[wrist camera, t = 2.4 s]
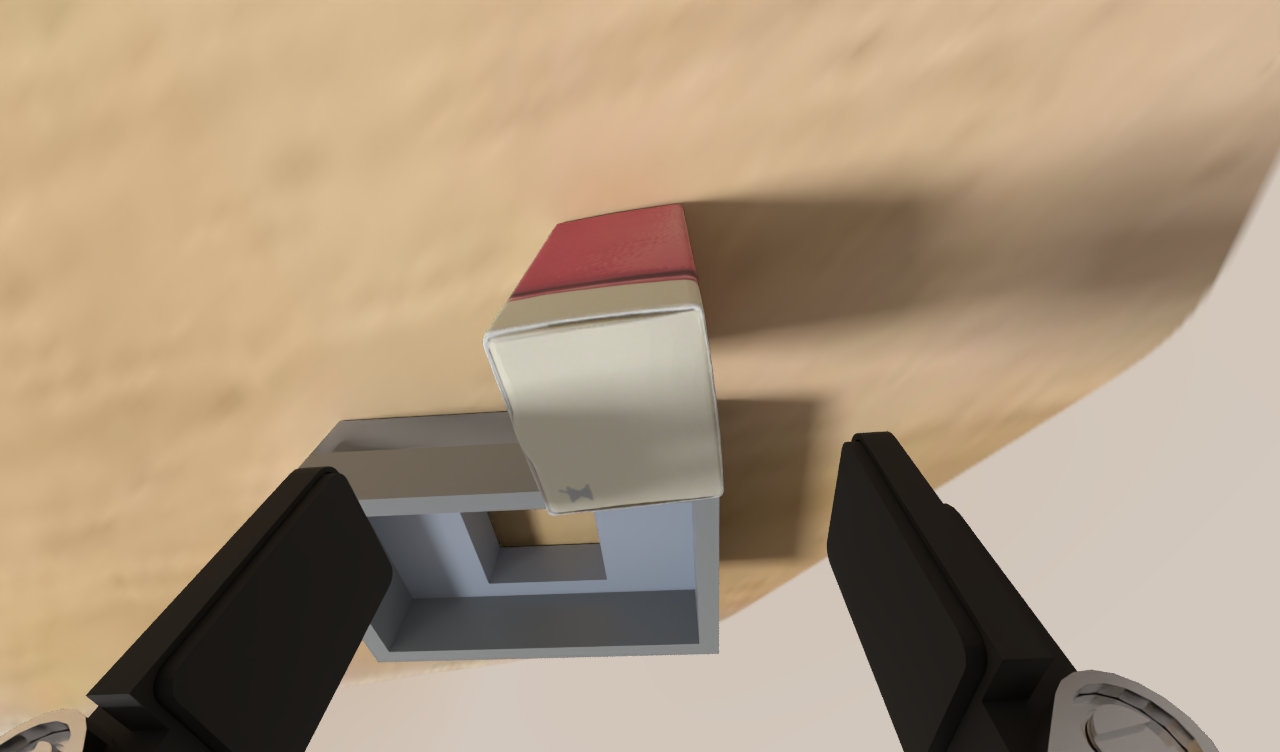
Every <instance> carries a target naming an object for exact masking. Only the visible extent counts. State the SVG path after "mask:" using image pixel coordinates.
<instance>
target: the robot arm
mask: <svg viewBox="0 0 1280 752" xmlns="http://www.w3.org/2000/svg"><path fill="white" fill-rule="evenodd" d="M827 553H828V558H829V562H830V565H831V567H832V570H833V572H834V575H835V578H836V580H837V582H838V585H839V587H840V590H841V593H842V595H843V598H844V600H845V603H846V605H847V608H848V611H849V613H850V616H851V618H852V621H853V623H854V626H855V628H856V631H857V634H858V636H859V639H860V641H861V644H862V646H863V648H864V651H865V654H866V656H867V659H868V661H869V664H870V666H871V669H872V672H873V674H874V677H875V679H876V682H877V684H878V687H879V690H880V692H881V695H882V697H883V699H884V702H885V705H886V707H887V710H888V712H889V715H890V718H891V720H892V723H893V725H894V727H895V730H896V733H897V735H898V738H899V740H900V743H901V745H902V748H903V751H904V752H1219V751H1218V749H1217V748H1216V746H1215V745H1214V743H1213V742H1212V740H1211V739H1210V738H1209V737H1208V736H1207V735H1206V734H1205V733H1204V732H1203V731H1202V730H1201V729H1200V728H1199V727H1198V726H1197V724H1196V723H1195V722H1194V721H1193V720H1191V718H1190V717H1188V716H1187V715H1186V714H1185V713H1183V712H1182V711H1181V710H1180V709H1178V708H1177V707H1176V706H1174V705H1173V704H1172V703H1171V702H1169V701H1168V700H1167V699H1165V698H1164V697H1162V696H1160V695H1159V694H1157V693H1155V692H1153V691H1152V690H1150V689H1148V688H1146V687H1145V686H1143V685H1141V684H1139V683H1137V682H1135V681H1132V680H1129V679H1127V678H1124V677H1121V676H1119V675H1116V674H1114V673H1107V672H1102V671H1095V670H1086V671H1078V672H1077V671H1076V669H1075V668H1074V666H1073V665H1072V664H1071V662H1070V661H1069V660H1068V658H1067V657H1066V656H1065V655H1064V653H1063V652H1062V650H1061V649H1060V648H1059V646H1058V645H1057V644H1056V642H1055V641H1054V640H1053V638H1052V637H1051V636H1050V634H1049V633H1048V632H1047V630H1046V629H1045V628H1044V626H1043V625H1042V624H1041V622H1040V621H1039V620H1038V618H1037V617H1036V616H1035V614H1034V613H1033V611H1032V610H1031V609H1030V608H1029V606H1028V605H1027V603H1026V602H1025V601H1024V599H1023V598H1022V597H1021V595H1020V594H1019V593H1018V591H1017V590H1016V589H1015V587H1014V586H1013V585H1012V583H1011V582H1010V581H1009V579H1008V578H1007V577H1006V575H1005V574H1004V573H1003V571H1002V570H1001V568H1000V567H999V566H998V564H997V563H996V562H995V560H994V559H993V558H992V556H991V555H990V554H989V552H988V551H987V550H986V549H985V547H984V546H983V544H982V543H981V542H980V540H979V539H978V538H977V536H976V535H975V534H974V532H973V531H972V530H971V528H970V527H969V526H968V524H967V523H966V522H965V520H964V519H963V517H962V516H961V515H960V514H959V513H958V512H957V511H956V510H955V508H954V507H952V506H950V505H948V504H943V503H942V501H941V500H940V499H939V497H938V496H937V494H936V493H935V492H934V490H933V489H932V487H931V486H930V485H929V483H928V482H927V481H926V479H925V478H924V476H923V475H922V474H921V472H920V471H919V470H918V468H917V467H916V465H915V464H914V463H913V461H912V460H911V458H910V457H909V456H908V454H907V453H906V452H905V450H904V449H903V447H902V446H901V445H900V443H899V442H898V440H897V439H896V438H895V436H894V435H893V434H892V433H890V432H888V431H887V432H870V433H857V434H855V435H854V436H853V438H852V441H851V442H845V443H844V444H843V447H842V451H841V458H840V464H839V470H838V476H837V483H836V489H835V495H834V502H833V508H832V514H831V520H830V527H829V533H828V539H827ZM392 576H393V570H392V565H391V563H390V561H389V559H388V557H387V555H386V553H385V551H384V549H383V548H382V546H381V544H380V542H379V540H378V538H377V536H376V534H375V532H374V530H373V528H372V526H371V524H370V522H369V520H368V518H367V517H366V515H365V513H364V511H363V509H362V507H361V505H360V503H359V501H358V499H357V497H356V495H355V493H354V491H353V489H352V487H351V486H350V484H349V482H348V480H347V478H346V477H345V475H343V474H341V473H339V472H338V471H337V470H336V469H335V468H333V467H330V466H323V467H307V468H299V469H296V470H294V471H293V472H292V473H290V475H289V476H288V477H287V478H286V479H285V480H284V481H283V482H282V483H281V484H280V485H279V486H278V488H277V489H276V490H275V491H274V492H273V493H272V494H271V495H270V496H269V497H268V498H267V499H266V501H265V502H264V503H263V504H262V505H261V506H260V507H259V508H258V509H257V510H256V511H255V512H254V514H253V515H252V516H251V517H250V518H249V519H248V520H247V521H246V522H245V523H244V524H243V525H242V527H241V528H240V529H239V530H238V531H237V532H236V533H235V534H234V535H233V536H232V537H231V539H230V540H229V541H228V542H227V543H226V544H225V545H224V546H223V547H222V548H221V549H220V550H219V552H218V553H217V554H216V555H215V556H214V557H213V558H212V559H211V560H210V561H209V562H208V563H207V565H206V566H205V567H204V568H203V569H202V570H201V571H200V572H199V573H198V574H197V575H196V576H195V578H194V579H193V580H192V581H191V582H190V583H189V584H188V585H187V586H186V587H185V588H184V589H183V591H182V592H181V593H180V594H179V595H178V596H177V597H176V598H175V599H174V600H173V601H172V603H171V604H170V605H169V606H168V607H167V608H166V609H165V610H164V611H163V612H162V613H161V614H160V616H159V617H158V618H157V619H156V620H155V621H154V622H153V623H152V624H151V625H150V626H149V627H148V629H147V630H146V631H145V632H144V633H143V634H142V635H141V636H140V637H139V638H138V639H137V640H136V642H135V643H134V644H133V645H132V646H131V647H130V648H129V649H128V650H127V651H126V652H125V653H124V655H123V656H122V657H121V658H120V659H119V660H118V661H117V662H116V663H115V664H114V665H113V667H112V668H111V669H110V670H109V671H108V672H107V673H106V674H105V675H104V676H103V677H102V678H101V680H100V681H99V682H98V683H97V684H96V685H95V686H94V687H93V688H92V689H91V690H90V691H89V693H88V694H87V695H86V696H87V697H88V698H89V699H91V700H92V701H93V702H94V703H96V704H97V705H98V707H97V709H96V710H95V711H94V712H93V713H92V714H91V715H90V716H89V718H87V717H86V716H85V715H84V714H82V713H81V712H80V711H78V710H73V709H60V710H56V711H52V712H48V713H44V714H42V715H40V716H38V717H35V718H33V719H31V720H29V721H26V722H24V723H22V724H20V725H18V726H17V727H15V728H13V729H12V730H10V731H8V732H7V733H5V734H4V735H2V736H0V752H305V750H306V748H307V746H308V744H309V742H310V740H311V738H312V736H313V734H314V732H315V730H316V729H317V726H318V725H319V722H320V721H321V719H322V717H323V715H324V713H325V711H326V709H327V707H328V705H329V703H330V701H331V699H332V697H333V695H334V693H335V691H336V690H337V688H338V686H339V684H340V682H341V680H342V678H343V676H344V674H345V672H346V670H347V668H348V666H349V664H350V662H351V660H352V658H353V656H354V654H355V653H356V651H357V649H358V647H359V645H360V643H361V641H362V639H363V637H364V635H365V633H366V631H367V629H368V627H369V625H370V623H371V621H372V619H373V617H374V615H375V614H376V612H377V610H378V608H379V606H380V604H381V602H382V600H383V598H384V596H385V594H386V592H387V590H388V588H389V586H390V584H391V581H392Z"/></svg>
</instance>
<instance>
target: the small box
mask: <svg viewBox="0 0 1280 752" xmlns="http://www.w3.org/2000/svg"><path fill="white" fill-rule="evenodd" d="M483 346H484V349H485V352H486V354H487V357H488V360H489V362H490V365H491V368H492V371H493V373H494V377H495V379H496V382H497V384H498V387H499V390H500V392H501V395H502V398H503V401H504V403H505V406H506V408H507V410H508V413H509V416H510V419H511V422H512V425H513V428H514V431H515V434H516V436H517V439H518V441H519V444H520V446H521V448H522V451H523V453H524V455H525V457H526V459H527V462H528V464H529V467H530V469H531V472H532V474H533V477H534V479H535V481H536V484H537V486H538V489H539V491H540V494H541V496H542V498H543V501H544V504H545V507H546V510H547V512H548V514H550V515H552V516H557V515H564V514H571V513H582V512H595V511H605V510H615V509H625V508H626V509H627V508H632V507H643V506H650V505H661V504H667V503H675V502H683V501H692V500H700V499H708V498H716V497H720V496H721V495H722V494H723V492H724V483H723V466H722V452H721V438H720V428H719V418H718V409H717V400H716V392H715V384H714V376H713V369H712V362H711V355H710V348H709V341H708V335H707V328H706V321H705V314H704V309H703V304H702V300H701V295H700V291H699V285H698V278H697V274H696V269H695V264H694V259H693V254H692V250H691V246H690V240H689V235H688V230H687V225H686V220H685V216H684V211H683V208H682V206H681V205H679V204H673V205H666V206H659V207H653V208H645V209H638V210H632V211H626V212H619V213H613V214H608V215H602V216H597V217H591V218H586V219H581V220H576V221H571V222H566V223H560V224H557V225H556V226H555V227H554V229H553V230H552V232H551V233H550V235H549V236H548V238H547V240H546V241H545V243H544V244H543V246H542V247H541V249H540V250H539V252H538V253H537V255H536V257H535V258H534V260H533V261H532V263H531V265H530V266H529V268H528V269H527V271H526V272H525V274H524V275H523V277H522V278H521V280H520V282H519V283H518V284H517V286H516V288H515V289H514V291H513V292H512V294H511V295H510V297H509V299H508V300H507V302H506V303H505V304H504V306H503V307H502V309H501V310H500V312H499V313H498V315H497V316H496V317H495V319H494V320H493V322H492V323H491V325H490V326H489V328H488V329H487V331H486V333H485V335H484V338H483Z"/></svg>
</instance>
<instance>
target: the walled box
mask: <svg viewBox="0 0 1280 752" xmlns="http://www.w3.org/2000/svg"><path fill="white" fill-rule="evenodd" d="M323 466H330V467H333V468H335V469H336V470H337V471H338V472H339V473H341V474H343V475H345V477H346V478H347V480H348V482H349V484H350V486H351V487H352V489H353V491H354V493H355V495H356V497H357V499H358V501H359V503H360V505H361V507H362V509H363V511H364V513H365V515H366V517H367V518H368V520H369V522H370V524H371V526H372V528H373V530H374V532H375V534H376V536H377V538H378V540H379V542H380V544H381V546H382V548H383V549H384V551H385V553H386V555H387V557H388V559H389V561H390V563H391V565H392V570H393V576H392V581H391V584H390V586H389V588H388V590H387V592H386V594H385V596H384V598H383V600H382V602H381V604H380V606H379V608H378V610H377V612H376V614H375V615H374V617H373V619H372V621H371V623H370V625H369V627H368V629H367V631H366V633H365V635H364V637H363V639H362V640H363V641H364V643H365V644H366V646H367V647H368V648H369V650H370V651H371V653H372V654H373V656H374V657H375V658H376V660H377V661H378V662H409V661H449V660H489V659H528V658H568V657H608V656H644V655H645V656H648V655H688V654H718V653H719V497H716V498H708V499H700V500H692V501H683V502H675V503H667V504H661V505H650V506H643V507H632V508H627V509H626V508H625V509H615V510H605V511H595V512H594V515H595V520H596V525H597V530H598V535H599V540H600V544H578V545H553V546H528V547H503V548H500V545H499V543H498V540H497V537H496V534H495V532H494V529H493V526H492V523H491V521H490V518H489V515H488V513H487V511H506V510H529V509H546V507H545V504H544V501H543V498H542V496H541V494H540V491H539V489H538V486H537V484H536V481H535V479H534V477H533V474H532V472H531V469H530V467H529V464H528V462H527V459H526V457H525V455H524V453H523V451H522V448H521V446H520V444H519V441H518V439H517V436H516V434H515V431H514V428H513V425H512V422H511V419H510V416H509V413H508V412H491V413H474V414H456V415H439V416H421V417H404V418H387V419H369V420H352V421H339V422H338V424H337V425H336V426H335V427H334V428H333V429H332V430H331V432H330V433H329V434H328V435H327V436H326V437H325V438H324V440H323V441H322V442H321V443H320V444H319V445H318V446H317V448H316V449H315V450H314V451H313V452H312V453H311V454H310V455H309V457H308V458H307V459H306V460H305V461H304V462H303V463H302V465H301V466H300V467H299V468H307V467H323ZM299 468H298V469H299Z"/></svg>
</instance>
